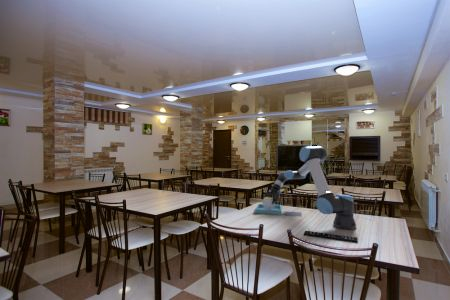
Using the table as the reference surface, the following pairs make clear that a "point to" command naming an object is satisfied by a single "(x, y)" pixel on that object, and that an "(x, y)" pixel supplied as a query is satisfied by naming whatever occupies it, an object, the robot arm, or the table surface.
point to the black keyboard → (331, 236)
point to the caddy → (268, 203)
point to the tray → (261, 210)
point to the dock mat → (293, 214)
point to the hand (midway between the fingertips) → (266, 206)
